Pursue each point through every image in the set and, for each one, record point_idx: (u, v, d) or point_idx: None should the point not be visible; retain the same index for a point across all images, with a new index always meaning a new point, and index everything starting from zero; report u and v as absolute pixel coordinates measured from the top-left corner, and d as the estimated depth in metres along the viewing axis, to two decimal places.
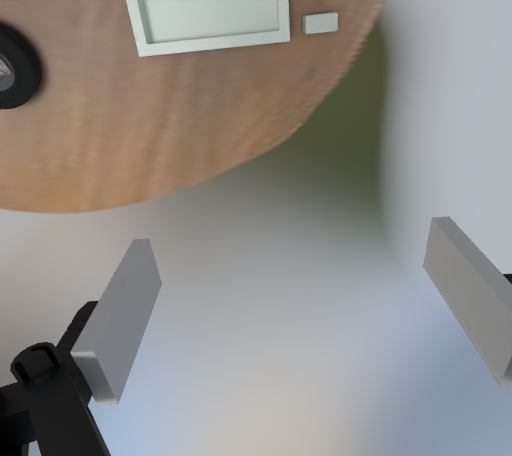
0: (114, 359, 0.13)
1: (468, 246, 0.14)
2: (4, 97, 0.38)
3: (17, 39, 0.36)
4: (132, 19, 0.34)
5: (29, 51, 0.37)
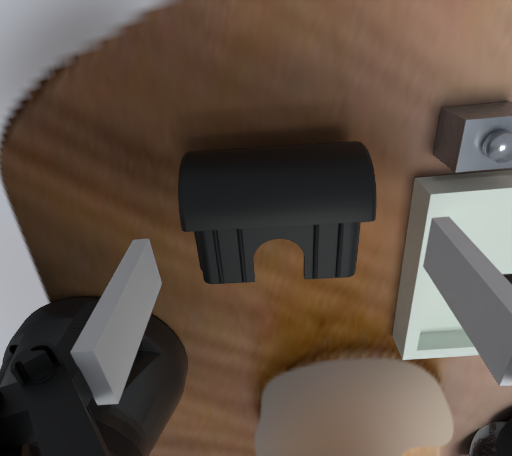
0: (114, 359, 0.13)
1: (468, 246, 0.14)
2: None
3: None
4: None
5: None
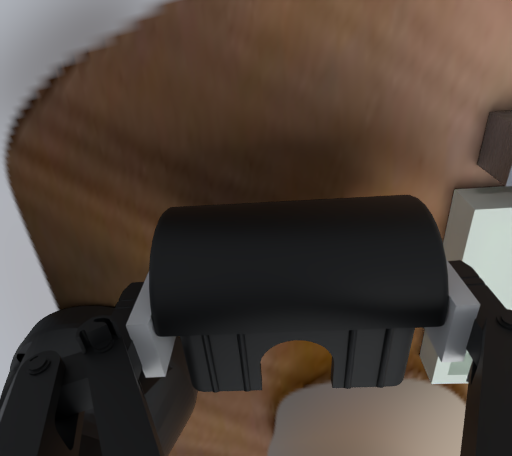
0: None
1: None
2: None
3: None
4: None
5: None
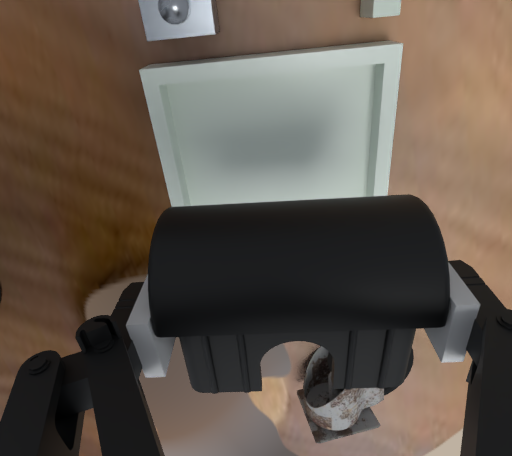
0: None
1: None
2: None
3: None
4: None
5: None
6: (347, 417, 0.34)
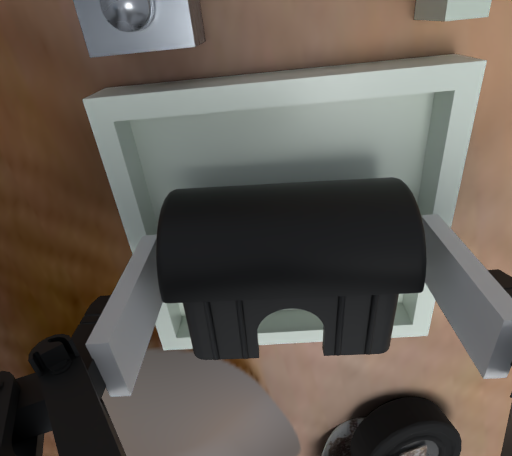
0: (127, 352, 0.13)
1: (455, 243, 0.14)
2: (445, 455, 0.28)
3: (388, 419, 0.27)
4: None
5: (403, 409, 0.27)
6: None
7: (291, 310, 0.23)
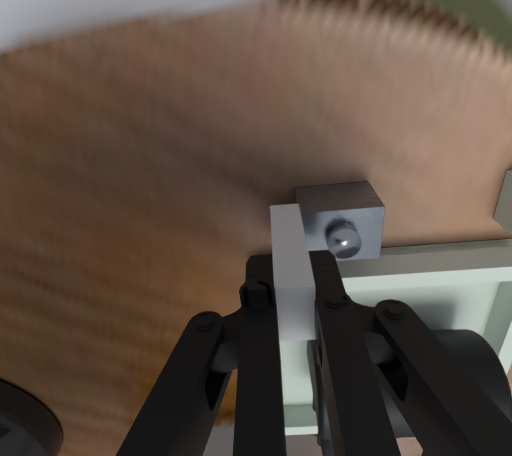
0: None
1: (296, 227, 0.16)
2: None
3: None
4: None
5: None
6: None
7: None
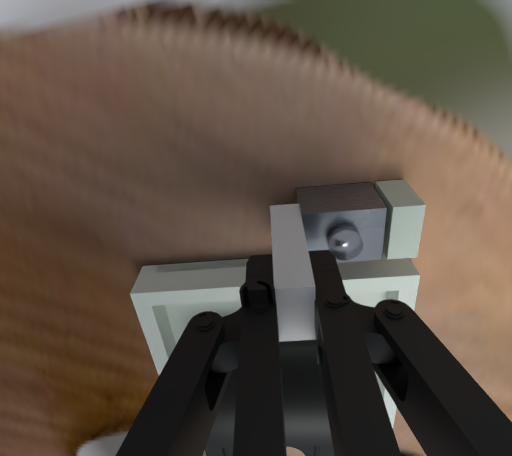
0: None
1: (296, 227, 0.16)
2: None
3: None
4: None
5: None
6: None
7: None
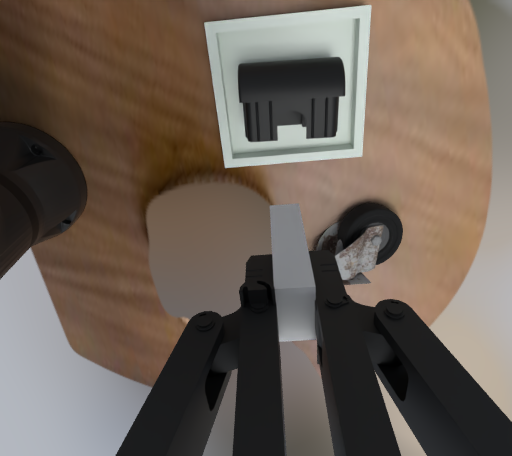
0: None
1: (297, 227, 0.16)
2: (392, 240, 0.48)
3: (363, 208, 0.46)
4: (333, 157, 0.42)
5: (372, 205, 0.46)
6: (349, 269, 0.45)
7: (292, 149, 0.43)
